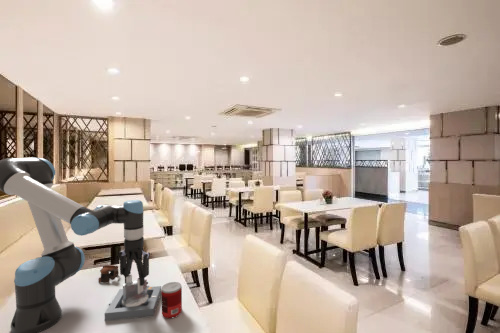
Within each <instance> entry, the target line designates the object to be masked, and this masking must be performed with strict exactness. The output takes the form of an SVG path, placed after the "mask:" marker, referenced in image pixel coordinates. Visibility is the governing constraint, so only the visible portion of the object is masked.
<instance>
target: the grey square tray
mask: <svg viewBox="0 0 500 333" xmlns="http://www.w3.org/2000/svg"><path fill="white" fill-rule="evenodd" d="M161 289H162V286H161V285H157V286H147V294H148V297H149V302H148V304H147V305H146V306H136V307H124V308H120V305H122V299H123V288H120V289H119V290H118V292H117V293H116V295H115V296H114V298H113V299H112V301H111V302H110V303H111V304H110V303H109V304H110V305H109V304H108V307H107V308H106V310H105V312H104V322H105V321H115V320H127V319H137V318H149V317H154V315H155V312H156V310H157V307H156V306H158V304H157V303H159V301H158V300H160V298H159V297H161ZM155 309H156V310H155Z"/></svg>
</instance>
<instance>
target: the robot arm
mask: <svg viewBox="0 0 500 333" xmlns="http://www.w3.org/2000/svg"><path fill="white" fill-rule="evenodd" d="M55 176H56V169H55V166H54V164H53V163H51V161H49V160H48V159H45V158H42V157H35V156H31V157H8V158H4V159H1V160H0V191H1V192H3V193H5V194H6V195H9V196H13V195H15V196H17V197H18V198H21V199H22V200H24V201H27V204H28V207H29V210H30V213H31V214H32V218H33V221H34V224H35V226H36V230H37V234H38V236H39V238H40V241H41V244H42V247H43V251H42V252H41V254H40V255H41V256H40V257H35V258H33V259H30V260H29V259H28V260H27V261H25V262H24V263H23V262H22V264H19V266H18V267H16V269H15V271H14V280H13V282H14V290H15V291H14V292H15V293H14V294H15V311H14V314H13V317H12V321H11V323H10V332H12V333H36V332H37V333H40V332H43V331H45V330H47V329H48V328H49V329H50V327H52V326H54V325H55V324H57V323H58V322H59V321H60V320H61V318H62V316H63V314H62V313H63V312H62V308H61V305H60V304H59V302H58V299H57V298H56V286H58V285H60V284H61V283H63V282H64V281H66V280H67V279H69V278H71V277H73V276H74V275H76V274H77V273H78V272H79V271H81V270H82V268H83V266H84V265H85V260H86V257H85V253H84V251H83V250H82V249H81V248H79V247H78V246H75V244H74V241H70V240H69V239H68V236H67V233H66V231H65V227H64V224H63V221H64V222H66V223H68V224H69V225H70V229H71V230H72V232H73V233H74V234H75V235H78V236H87V235H90V234H92V233H94V232H96V231H98V230H101V229H103V228H105V227H107V226H109V225H112V224H120V225H121V224H123V239H124V240H123V245H124V246H123V247H124V249H122V250H121V251H119V252H118V256H119V274H120V276H122V275H123V277H124V285H125V284H128V283H131V282H133V275H132V272H131V271H132V266H133V261H134V263H135V265H136V269H137V274H138V278H136V279H137V282H138V294H140V293H141V292H142V291H143V285H144V283H145V279H146V277H148V276H149V275H150V255H151V253H150V252H149V251H148V252H146V251H145V249H144V245H145V244H144V243H145V238H144V234H145V233H144V204H143V201H141V200H139V199H130V200H126V201H124V202H123V205H121V204H120V205H119V204H117V205H116V204H115V205H114V204H113V205H112V204H99V205H97V206H96V207H95V208H94V209H93V210H92V209H90V208H87V207H86V206H83V205H82V204H80V203H78V202H76V201H75V200H73V199H71V198H69V197H67V196H66V195H64V194H61V193H60V192H58V191H57V190H54V189H52V187H53V185H54V182H53V180H54V179H55Z"/></svg>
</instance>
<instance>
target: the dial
mask: <svg viewBox="0 0 500 333" xmlns="http://www.w3.org/2000/svg"><path fill="white" fill-rule="evenodd" d="M147 280H148V279H146V278H145V283H144V285H143V291H142V292H141V293H140V294H138V282H137V280H132V282H131V283H128V284H125V283H124V284H122V289H123V299H122V308H124V307H136V306H146V305H147V304H148V302H149V297H148V294H147V287H148V284H147V282H148V281H147Z"/></svg>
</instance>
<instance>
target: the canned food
mask: <svg viewBox="0 0 500 333" xmlns="http://www.w3.org/2000/svg"><path fill="white" fill-rule="evenodd" d="M182 293H183V292H182V284H181V282H178V281H172V282H168V283H165V284H163V285H162V286H161V295H160V297H161V315H162V317H163V318H164V317H165V319H173V318H172V317H174V318H177V317H178V316H180V315H181V313H182V310H183V306H182V305H183V304H182V303H183V301H182V300H183V298H182ZM176 316H177V317H176Z"/></svg>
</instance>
